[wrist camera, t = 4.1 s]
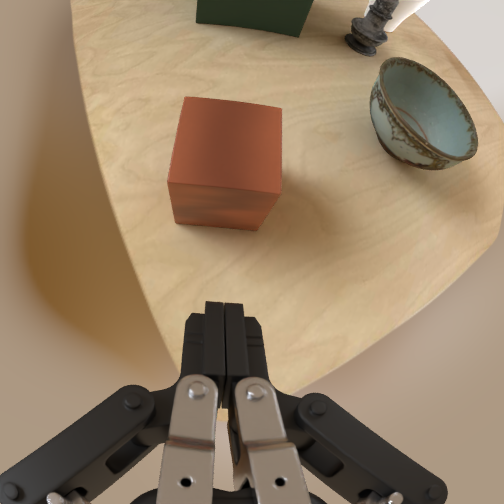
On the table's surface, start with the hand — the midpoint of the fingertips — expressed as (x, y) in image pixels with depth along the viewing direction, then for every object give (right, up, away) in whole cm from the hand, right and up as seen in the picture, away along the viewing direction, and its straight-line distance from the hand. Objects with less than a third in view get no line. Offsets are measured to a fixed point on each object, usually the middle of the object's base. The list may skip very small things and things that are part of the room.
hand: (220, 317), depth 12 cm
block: (-2, +8, +14) cm, 16 cm away
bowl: (+19, +16, +20) cm, 32 cm away
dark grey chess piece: (+18, +34, +24) cm, 45 cm away
